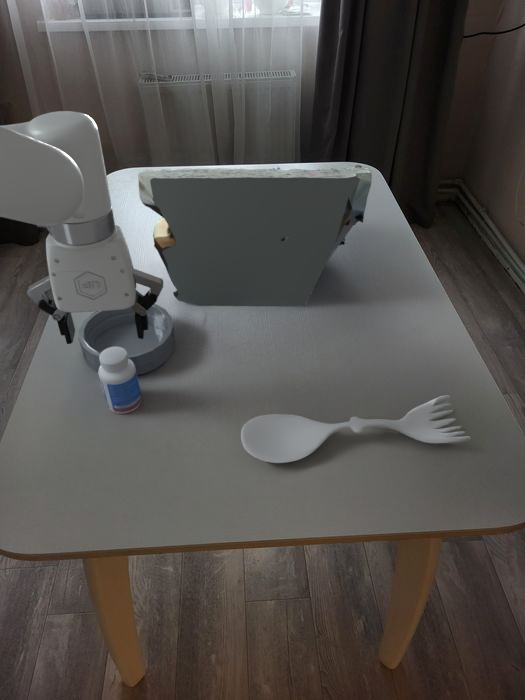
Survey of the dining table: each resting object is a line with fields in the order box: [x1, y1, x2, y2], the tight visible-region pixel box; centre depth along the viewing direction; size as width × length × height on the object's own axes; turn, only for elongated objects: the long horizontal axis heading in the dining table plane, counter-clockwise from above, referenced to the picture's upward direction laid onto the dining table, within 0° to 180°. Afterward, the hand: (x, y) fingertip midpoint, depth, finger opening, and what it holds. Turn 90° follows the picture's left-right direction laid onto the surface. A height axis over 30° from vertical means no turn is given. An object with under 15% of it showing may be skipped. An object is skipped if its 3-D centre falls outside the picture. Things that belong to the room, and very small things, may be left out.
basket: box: [137, 164, 373, 307], centre depth 107 cm, size 40×31×28 cm
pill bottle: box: [97, 347, 143, 415], centre depth 84 cm, size 6×5×10 cm
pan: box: [78, 303, 177, 376], centre depth 95 cm, size 16×16×4 cm
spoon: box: [240, 394, 472, 464], centre depth 80 cm, size 9×32×4 cm, turn 96°
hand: (106, 335), depth 78 cm, fingers open, 9 cm apart
